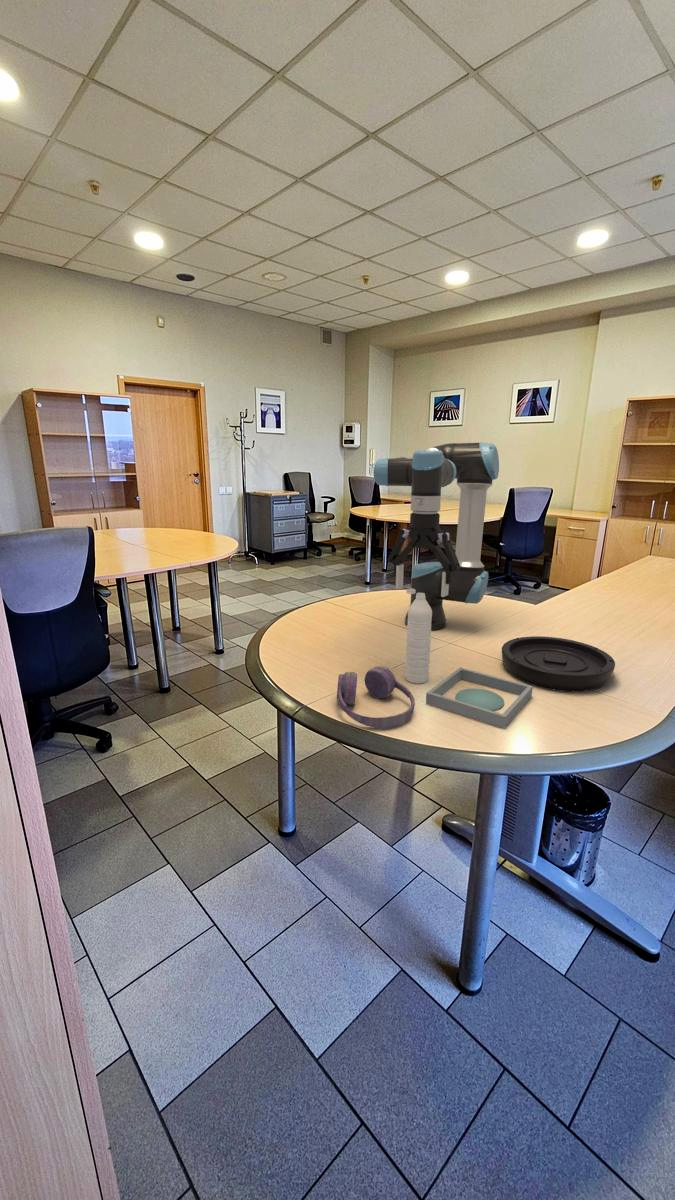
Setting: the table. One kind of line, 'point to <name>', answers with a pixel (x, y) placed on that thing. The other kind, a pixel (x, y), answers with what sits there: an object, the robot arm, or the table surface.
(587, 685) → the round tray
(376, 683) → the headphones
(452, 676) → the teal-dotted square tray
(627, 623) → the table surface
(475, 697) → the teal round pad
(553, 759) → the table surface
